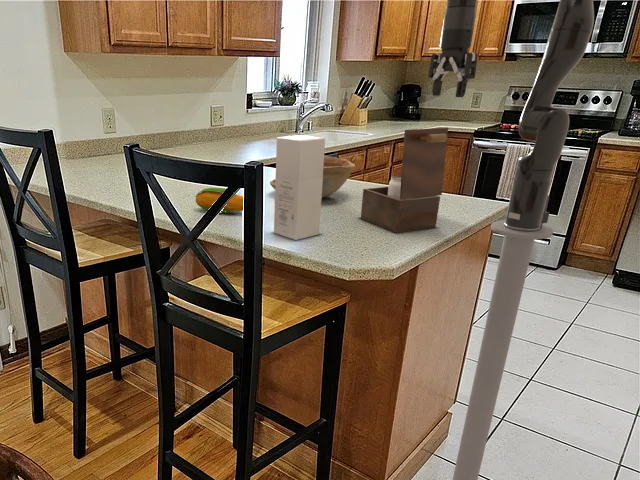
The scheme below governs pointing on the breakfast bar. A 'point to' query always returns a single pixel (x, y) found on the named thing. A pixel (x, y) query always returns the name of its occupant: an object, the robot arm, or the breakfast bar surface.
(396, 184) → the can
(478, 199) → the breakfast bar surface
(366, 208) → the chest
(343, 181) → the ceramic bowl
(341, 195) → the breakfast bar surface
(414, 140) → the chest lid
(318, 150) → the tall white carton
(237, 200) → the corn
